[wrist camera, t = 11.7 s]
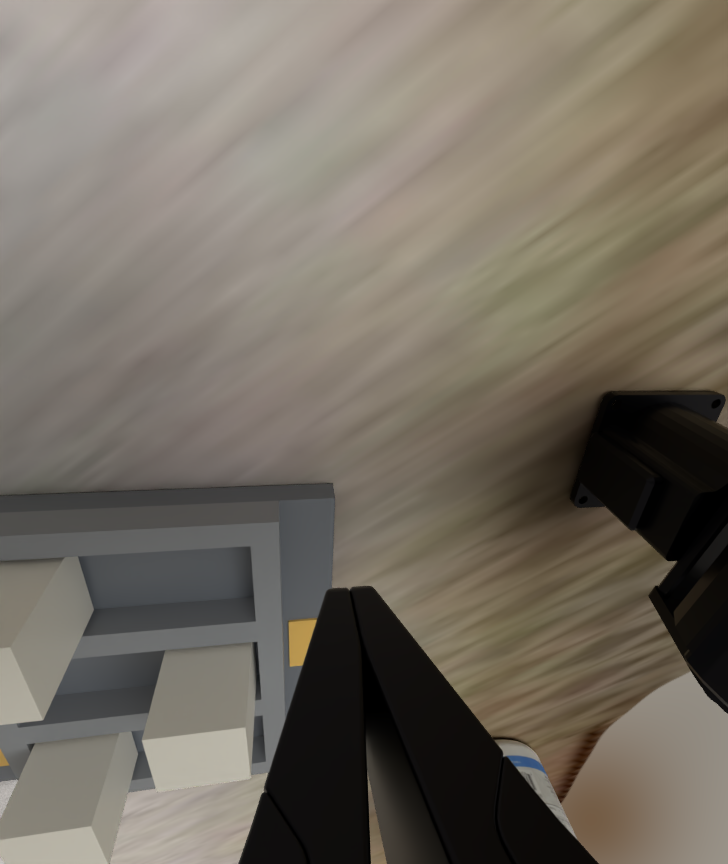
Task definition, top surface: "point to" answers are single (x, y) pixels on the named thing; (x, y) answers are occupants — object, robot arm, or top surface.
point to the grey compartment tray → (175, 598)
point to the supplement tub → (534, 775)
